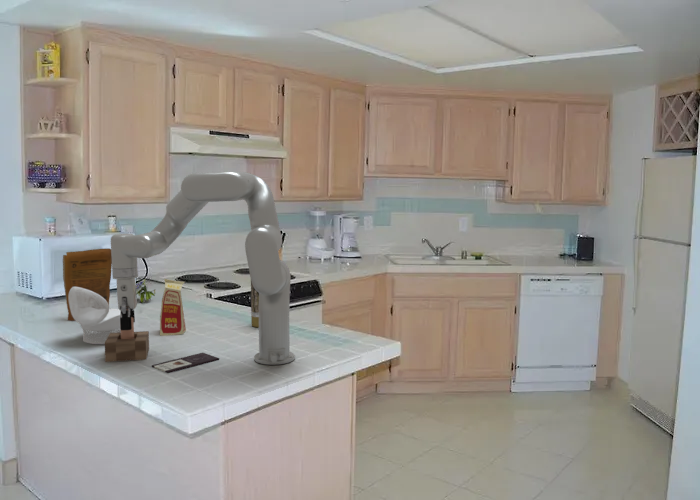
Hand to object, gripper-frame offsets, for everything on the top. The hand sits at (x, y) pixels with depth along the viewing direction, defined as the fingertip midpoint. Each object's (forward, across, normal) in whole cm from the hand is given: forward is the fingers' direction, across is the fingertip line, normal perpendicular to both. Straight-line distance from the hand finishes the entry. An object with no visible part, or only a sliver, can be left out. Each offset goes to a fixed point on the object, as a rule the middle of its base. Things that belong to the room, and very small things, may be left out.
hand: (127, 326), depth 193 cm
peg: (+10, 0, 0) cm, 10 cm away
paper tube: (+10, +29, -45) cm, 54 cm away
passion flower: (+9, +88, +3) cm, 89 cm away
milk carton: (+10, +27, -13) cm, 31 cm away
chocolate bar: (+10, -13, -18) cm, 24 cm away
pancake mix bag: (+9, +56, +20) cm, 60 cm away
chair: (+10, +21, +11) cm, 26 cm away
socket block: (+10, 0, 0) cm, 10 cm away
